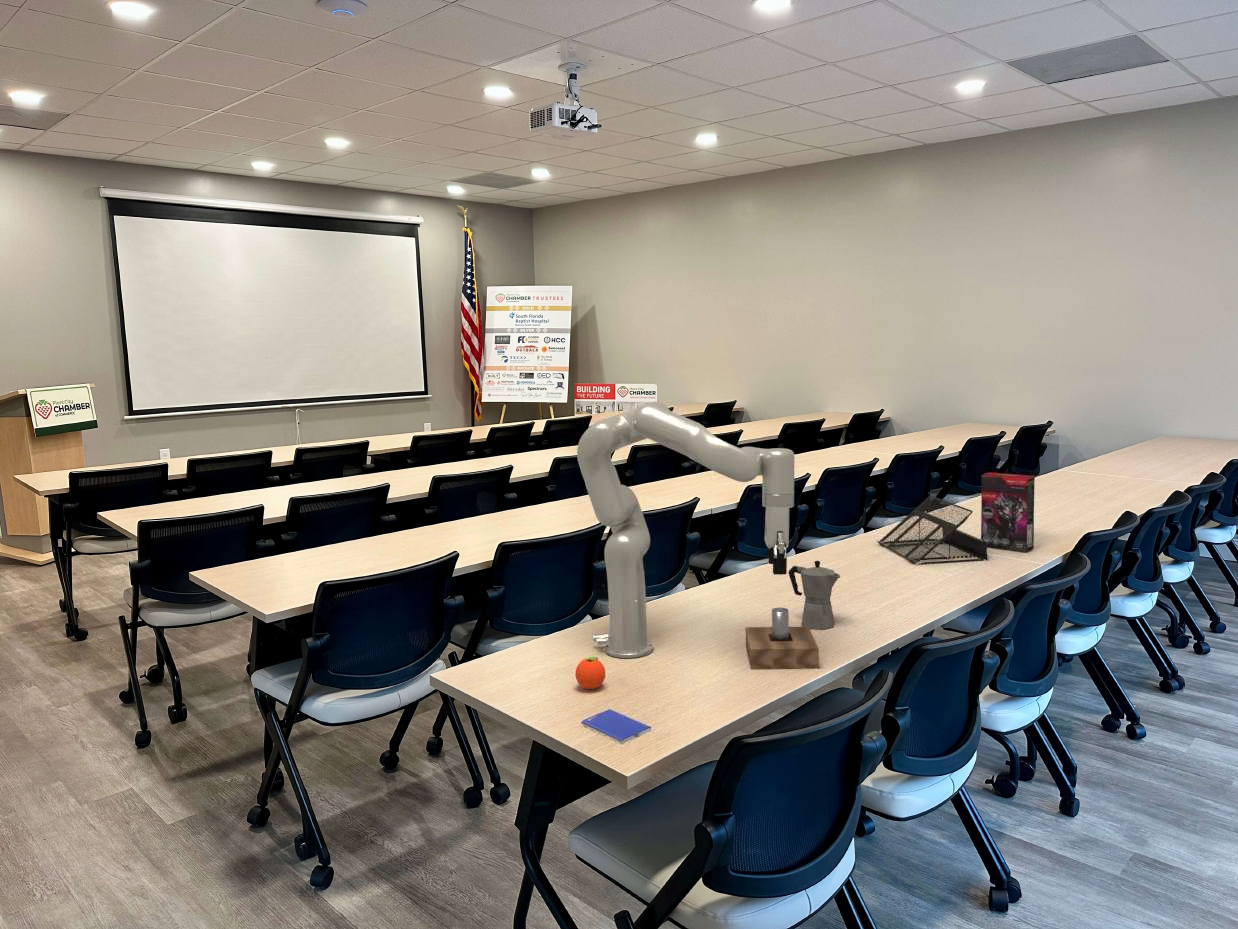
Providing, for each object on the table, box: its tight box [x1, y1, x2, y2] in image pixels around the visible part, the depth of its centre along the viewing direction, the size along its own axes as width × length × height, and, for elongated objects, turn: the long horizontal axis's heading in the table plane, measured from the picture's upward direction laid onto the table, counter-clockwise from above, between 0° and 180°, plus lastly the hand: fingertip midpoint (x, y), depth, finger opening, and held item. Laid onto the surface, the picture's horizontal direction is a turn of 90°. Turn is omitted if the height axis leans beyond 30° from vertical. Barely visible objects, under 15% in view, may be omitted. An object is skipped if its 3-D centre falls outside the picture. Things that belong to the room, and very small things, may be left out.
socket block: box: [744, 626, 820, 670], centre depth 206 cm, size 16×16×5 cm
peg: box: [771, 607, 790, 641], centre depth 205 cm, size 4×4×12 cm
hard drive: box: [580, 708, 652, 745], centre depth 170 cm, size 2×8×12 cm
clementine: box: [574, 656, 606, 690], centre depth 192 cm, size 8×7×7 cm
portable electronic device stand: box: [876, 495, 989, 566], centre depth 303 cm, size 33×28×18 cm
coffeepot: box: [788, 560, 841, 631], centre depth 229 cm, size 15×9×18 cm, turn 49°
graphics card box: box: [980, 472, 1036, 553], centre depth 304 cm, size 17×7×27 cm, turn 43°
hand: (777, 568), depth 203 cm, fingers open, 9 cm apart
